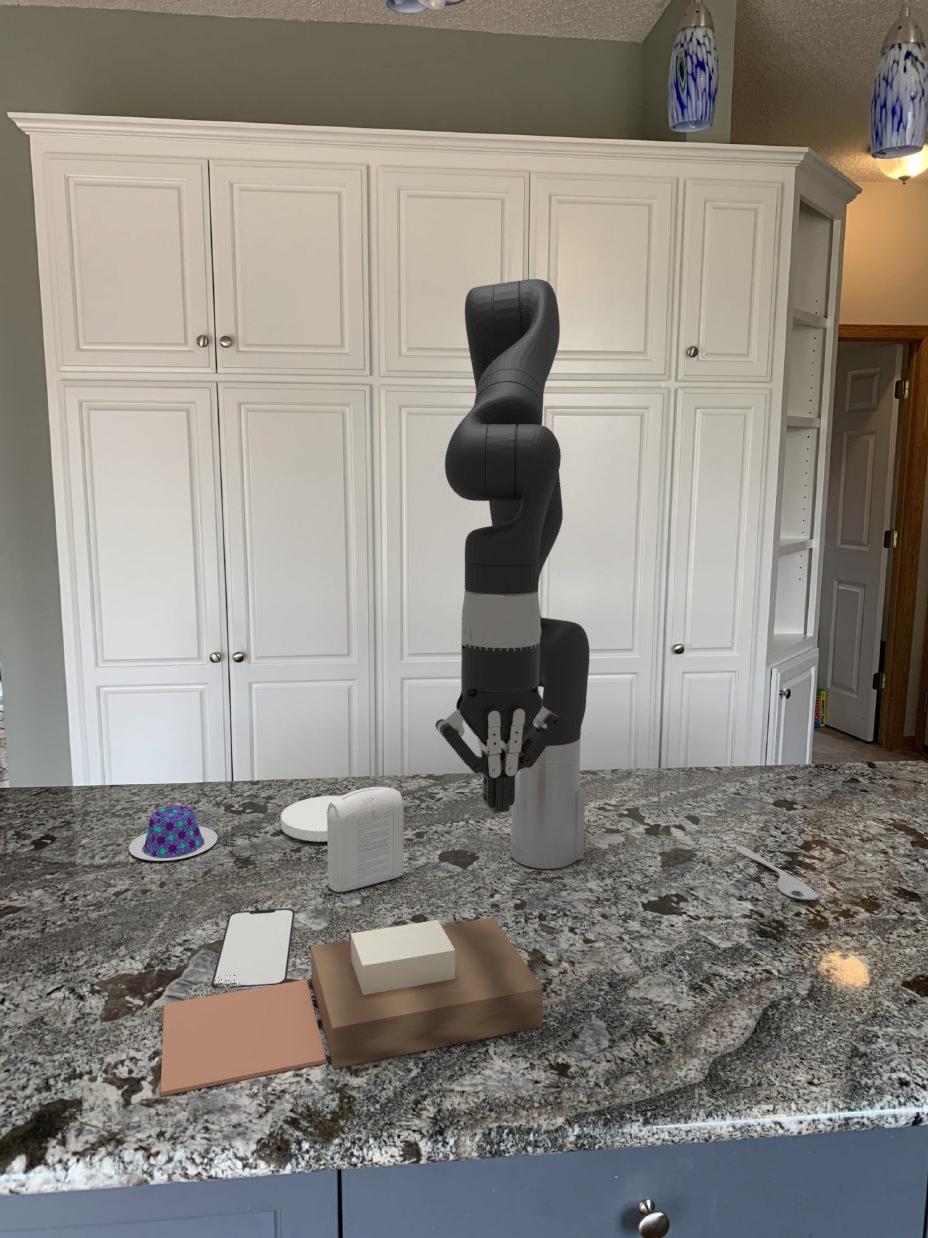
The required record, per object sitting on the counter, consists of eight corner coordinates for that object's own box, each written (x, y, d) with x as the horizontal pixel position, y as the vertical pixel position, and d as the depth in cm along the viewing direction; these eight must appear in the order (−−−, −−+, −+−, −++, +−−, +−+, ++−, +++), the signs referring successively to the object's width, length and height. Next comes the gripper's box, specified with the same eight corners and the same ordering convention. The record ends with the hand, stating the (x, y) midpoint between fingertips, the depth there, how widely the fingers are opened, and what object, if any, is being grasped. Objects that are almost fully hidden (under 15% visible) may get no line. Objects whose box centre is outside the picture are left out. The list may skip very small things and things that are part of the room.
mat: (306, 983, 90) (306, 979, 90) (326, 1063, 77) (326, 1059, 77) (164, 1007, 85) (164, 1004, 85) (160, 1096, 73) (160, 1092, 73)
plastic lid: (362, 806, 139) (362, 791, 138) (386, 840, 126) (385, 823, 125) (274, 818, 134) (274, 802, 133) (289, 854, 121) (288, 837, 121)
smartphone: (287, 989, 89) (295, 911, 105) (286, 984, 89) (295, 907, 105) (208, 994, 88) (229, 915, 104) (208, 990, 88) (229, 911, 104)
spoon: (797, 911, 106) (798, 899, 105) (716, 842, 125) (716, 831, 125) (828, 908, 106) (829, 896, 106) (742, 840, 126) (743, 829, 126)
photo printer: (393, 864, 117) (392, 777, 115) (409, 877, 114) (408, 787, 111) (323, 884, 111) (320, 792, 109) (337, 897, 108) (335, 803, 106)
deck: (493, 951, 96) (493, 917, 95) (542, 1026, 83) (543, 988, 82) (311, 982, 90) (310, 946, 89) (333, 1069, 77) (332, 1028, 76)
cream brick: (437, 947, 89) (437, 920, 89) (455, 978, 83) (455, 950, 83) (351, 961, 86) (350, 933, 86) (363, 995, 81) (362, 965, 80)
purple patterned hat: (109, 857, 120) (107, 821, 119) (169, 825, 131) (167, 792, 130) (179, 872, 115) (177, 834, 115) (234, 837, 126) (233, 803, 126)
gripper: (549, 627, 88) (545, 790, 91) (423, 634, 84) (424, 803, 87) (580, 641, 81) (575, 816, 84) (445, 648, 77) (444, 832, 80)
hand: (498, 809), depth 85 cm, fingers closed
